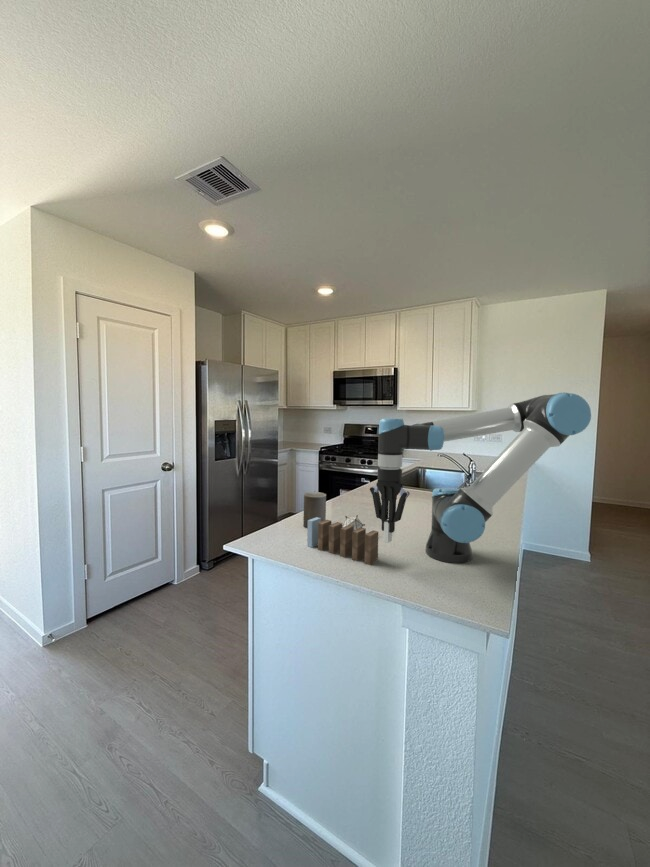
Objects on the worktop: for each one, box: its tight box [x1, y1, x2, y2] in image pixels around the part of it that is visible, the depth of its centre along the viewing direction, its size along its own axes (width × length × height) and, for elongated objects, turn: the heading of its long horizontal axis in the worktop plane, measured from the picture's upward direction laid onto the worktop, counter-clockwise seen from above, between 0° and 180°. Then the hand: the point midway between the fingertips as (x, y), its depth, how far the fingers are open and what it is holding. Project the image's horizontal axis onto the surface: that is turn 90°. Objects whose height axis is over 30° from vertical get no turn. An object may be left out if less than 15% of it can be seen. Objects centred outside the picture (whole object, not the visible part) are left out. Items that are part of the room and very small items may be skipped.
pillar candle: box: [302, 491, 327, 529], centre depth 154 cm, size 10×10×15 cm
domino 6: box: [364, 530, 379, 566], centre depth 117 cm, size 2×5×10 cm, turn 143°
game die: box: [342, 514, 366, 530], centre depth 142 cm, size 9×8×10 cm
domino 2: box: [317, 519, 332, 552], centre depth 129 cm, size 2×5×10 cm, turn 143°
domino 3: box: [328, 521, 343, 555], centre depth 126 cm, size 2×5×10 cm, turn 143°
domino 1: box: [306, 517, 321, 549], centre depth 132 cm, size 2×5×10 cm, turn 143°
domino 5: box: [351, 527, 367, 562], centre depth 120 cm, size 2×5×10 cm, turn 143°
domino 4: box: [339, 525, 354, 558], centre depth 123 cm, size 2×5×10 cm, turn 143°
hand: (387, 541), depth 114 cm, fingers closed
